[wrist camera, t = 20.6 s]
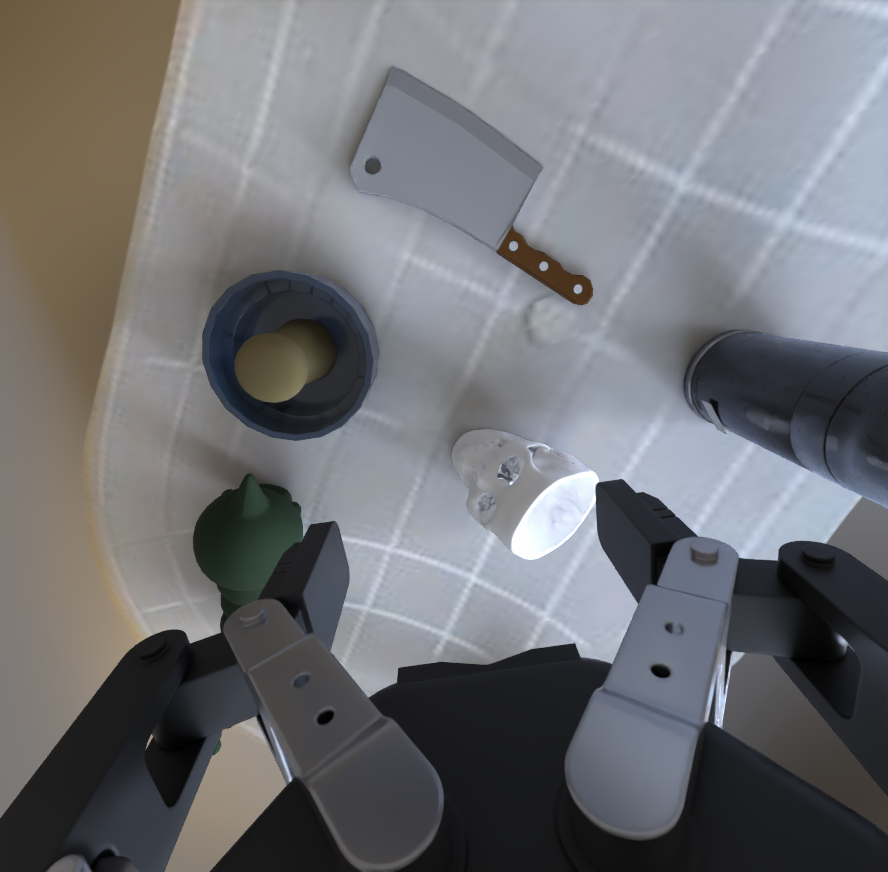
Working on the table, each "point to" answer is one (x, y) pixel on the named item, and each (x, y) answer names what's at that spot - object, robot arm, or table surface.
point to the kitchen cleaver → (456, 174)
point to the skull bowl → (523, 490)
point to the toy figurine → (245, 541)
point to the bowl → (264, 311)
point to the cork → (285, 360)
